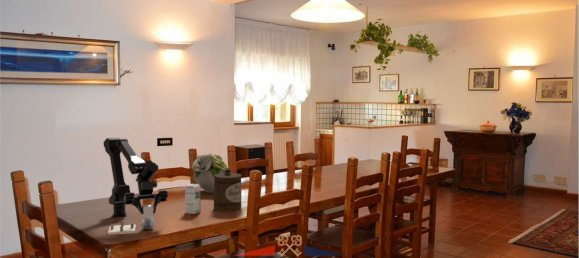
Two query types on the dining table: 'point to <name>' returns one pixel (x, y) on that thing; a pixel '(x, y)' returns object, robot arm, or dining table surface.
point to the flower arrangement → (208, 170)
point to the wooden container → (227, 191)
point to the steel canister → (148, 216)
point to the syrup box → (192, 199)
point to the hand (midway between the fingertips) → (148, 213)
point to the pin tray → (122, 229)
